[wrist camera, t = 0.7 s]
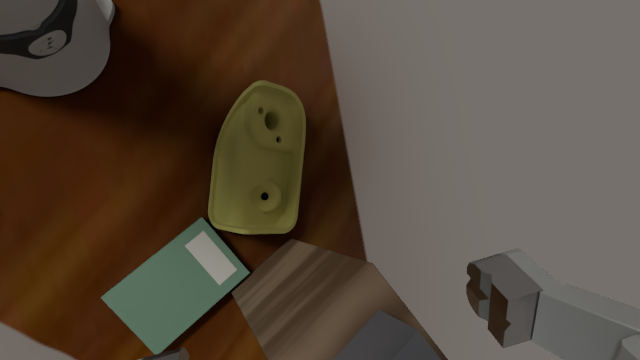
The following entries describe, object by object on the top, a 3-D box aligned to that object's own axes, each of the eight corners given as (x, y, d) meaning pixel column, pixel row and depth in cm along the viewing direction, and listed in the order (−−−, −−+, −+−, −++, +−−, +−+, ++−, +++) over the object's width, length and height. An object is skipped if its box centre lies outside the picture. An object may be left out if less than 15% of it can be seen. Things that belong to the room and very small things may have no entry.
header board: (103, 295, 47) (100, 297, 46) (201, 216, 52) (202, 217, 50) (157, 351, 49) (156, 356, 47) (248, 271, 53) (249, 272, 52)
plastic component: (296, 233, 54) (235, 234, 47) (264, 225, 59) (206, 226, 52) (309, 95, 54) (252, 75, 47) (277, 100, 59) (221, 83, 52)
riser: (230, 291, 52) (271, 366, 28) (290, 238, 56) (372, 263, 31) (284, 352, 54) (366, 472, 30) (338, 297, 58) (452, 365, 33)
